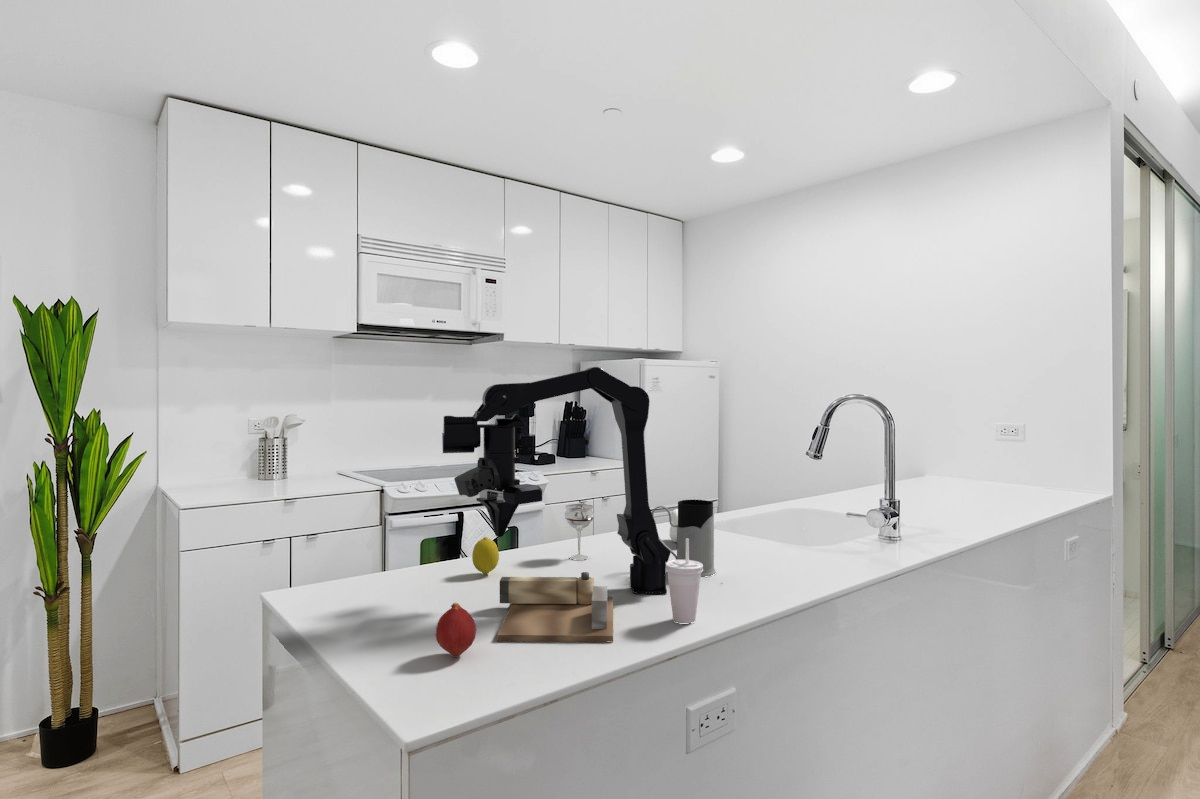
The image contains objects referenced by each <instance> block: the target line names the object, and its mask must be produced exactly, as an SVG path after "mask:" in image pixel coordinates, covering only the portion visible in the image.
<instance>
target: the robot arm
mask: <svg viewBox="0 0 1200 799" xmlns="http://www.w3.org/2000/svg"><path fill="white" fill-rule="evenodd" d="M589 389H591V390H592V391H594V392H596V394H598V395H599V396H600V397H601V398H603V399H604V400H606V401H607V402H609V403H610V404H611V406H612V410H613V415H614V419H615V422H616V423H617V426H618V429H619V432H620V436H621V437H620V438H621V451H622V465H623V479H624V480H623V481H624V492H625V493H624V494H625V506H624V510H623V513H616V518H617V520H616V521H617V523H618V529H617V535H619V536H620V539H621V540H622V542H623V544H625V545H626V546H627V547H629V550H630V553H631V554H632V555H633V556H632V563H630V564H629V587H630V588H631V589H632V594H655V595H656V594H661V595H662V594H664V595H666V594H667V593H668V589H667V586H666V585H667V584H666V582H667V578H666V577H667V571H666V570H665V568H666V563H667V562H668V561H669V559H670V556H671V554H672V553H671V552H670V551H669V550H668V549H667V548H666V547H665V546H664V545H663V544H662V543H661V542H660V541H659V538H660V536H659V533H658V528H657V525H656V524H657V523H656V520H655V517H654V515H652V510H651V508H650V504H649V503H650V502H649V491H648V489H649V488H648V478H647V477H648V476H647V474H648V473H647V464H646V463H647V462H646V449H645V448H646V447H645V446H646V445H645V429H646V426H647V422H648V419H649V412H650V397H649V394H648V392H646V391H645V390H644V388H642V387H640V386H633V385H632V386H631V385H629V384H627V383H626V382H624V381H622V380H621V379H618V378H616V377H615V376H613V375H611V374H609V373H608V372H607V371H605V369H603V368H602V367H600V366H594V367H587V368H585V369H584V370H580V371H575V372H571V373H567V374H562V375H557V376H554V377H553V376H552V377H549V378H545V379H539V380H535V381H531V382H517V383H499V384H498V383H497V384H493V385H490V386H488V387H487V388H486V389H485V390H484V392H483V394H482V403H481V404H480V405H479V407H478V409H477V410H476V411H475V410H474V413H473V415H472V416H454V415H444V416H443V427H442V428H443V431H442V433H441V434H442V436H441V437H442V440H441V442H442V443H441V444H442V445H441V446H442V454H465V453H466V454H468V453H471V454H472V453H475V450H476V449H478V448H479V447H481V439H482V437H481V435H482V434H481V429H483V457H478V459H477V465H476V467H473V468H471V469H469V470H467V471H465V472H463V473H461V474H459V475H457V476H455V477H454V482H455V485H456V489H457V492H458V495H460V496H467V497H468V498H472V497H476V496H478V495H479V497H477V498H475V499H476V502H478V503H480V504H481V505H483V506H484V507H485V508H486V511H487V513H488V516H489V518H490V522H491V526H492V527H493V531H494V534H495V537H498V538H502V537H503V536H504V535H505V532H506V531H507V529H508V527H509V525H510V522H511V520H512V518H513V516H514V515H515V512H516V511H517V508H518V507H519V505H525V504H531V503H538V502H543V489H542V488H541V487H540V486H539V485H535V484H530V483H523V484H521V482H520V481H521V480H520V479H519V478H516V464H519V463H520V461H521V459H520V458H521V457H519V456H516V428H525V427H526V423H525V422H524V421H522V419H520V417H519V415H518V414H515V413H514V412H516V411H518V410H520V409H523V408H524V407H528V406H529V405H531V404H533V403H535V402H538V401H543V400H547V399H551V398H555V397H559V396H564V395H567V394H572V393H576V392H581V391H585V390H586V391H587V390H589ZM511 413H514V414H513V415H512V417H510V418H506V417H505V418H495V417H496V416H499V417H500V416H506V415H508V414H509V415H510V414H511ZM493 418H495V420H494V423H482V424H481V423H479V424H478V422H488V421H490V420H491V419H493Z"/></svg>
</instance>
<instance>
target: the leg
mask: <svg viewBox="0 0 1200 799" xmlns="http://www.w3.org/2000/svg"><path fill="white" fill-rule="evenodd" d="M593 586H595V578H594V577H592V576H589V579H588V580H583V579H581V577H577V576H567V577H566V576H502V577H501V578H500V580H499V604H512V603H523V604H576V603H578V604H592V594H593Z"/></svg>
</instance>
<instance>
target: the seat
mask: <svg viewBox="0 0 1200 799" xmlns="http://www.w3.org/2000/svg"><path fill="white" fill-rule="evenodd" d="M580 574H581V575H580V576H581V579H583V580H588V579H589V577H590V572H588V571H582V572H581V573H580ZM496 641H497V642H518V641H521V643H522V642H523V641H526V642H527V643H528V642H529V641H530V642H531V643H532V642H533V643H534V642H537V643H538V642H539V643H540V642H541V643H543V642H544V643H545V642H547V643H551V642H552V643H558V642H559V643H564V642H565V643H606V642H605V641H613V642H614V596H608V586H603V585H602V586H601V585H599V586H597V585H594V586H593V594H592V604H578V603H576V604H523V603H511V605H510V607H509V610H508V611H507V614H506V616H505V618H504V620H503V623H502V624H501V626H500V628H499V630H498V633H497V635H496Z"/></svg>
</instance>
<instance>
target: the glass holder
mask: <svg viewBox="0 0 1200 799" xmlns="http://www.w3.org/2000/svg"><path fill="white" fill-rule="evenodd" d="M660 508H662V509H664V510H665V511H666V512H667V514H668V518H669V520H668V521H669V525H670V527H671V526H673V527H677V543H676V553H675V552H674V550H672V549H671V548H670V547H669V546H667V545H666V543H665V542H664V541H663V540H662V538H660V537H659V541H660V542H661V543H662V544H663V545H664V546H665V547H666V548H667V549H668V550H669V551H670V552H671V553H670V554H671V555H672V556H673V557H674V558H675V560H686V538H688V539H689V560H694V561H698V562H700V563H702V564H703V571H702V572H701V577H705V576H711V575H713V574H715V573H716V574H717V571H716V569H715V529H714V520H715V514H714V501H710V500H704V499H683V500H679V501H677V509H678V525H673V524H672V519H671V514H672V512H671V511H670V509H669V508H667V507H666V506H663V505H658V506H655V507H654V508H653V510H651V512H652V515H653V516H654V514H655V511H656V510H657V509H660ZM716 574H715V575H716ZM711 577H712V576H711ZM705 578H706V577H705Z"/></svg>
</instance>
